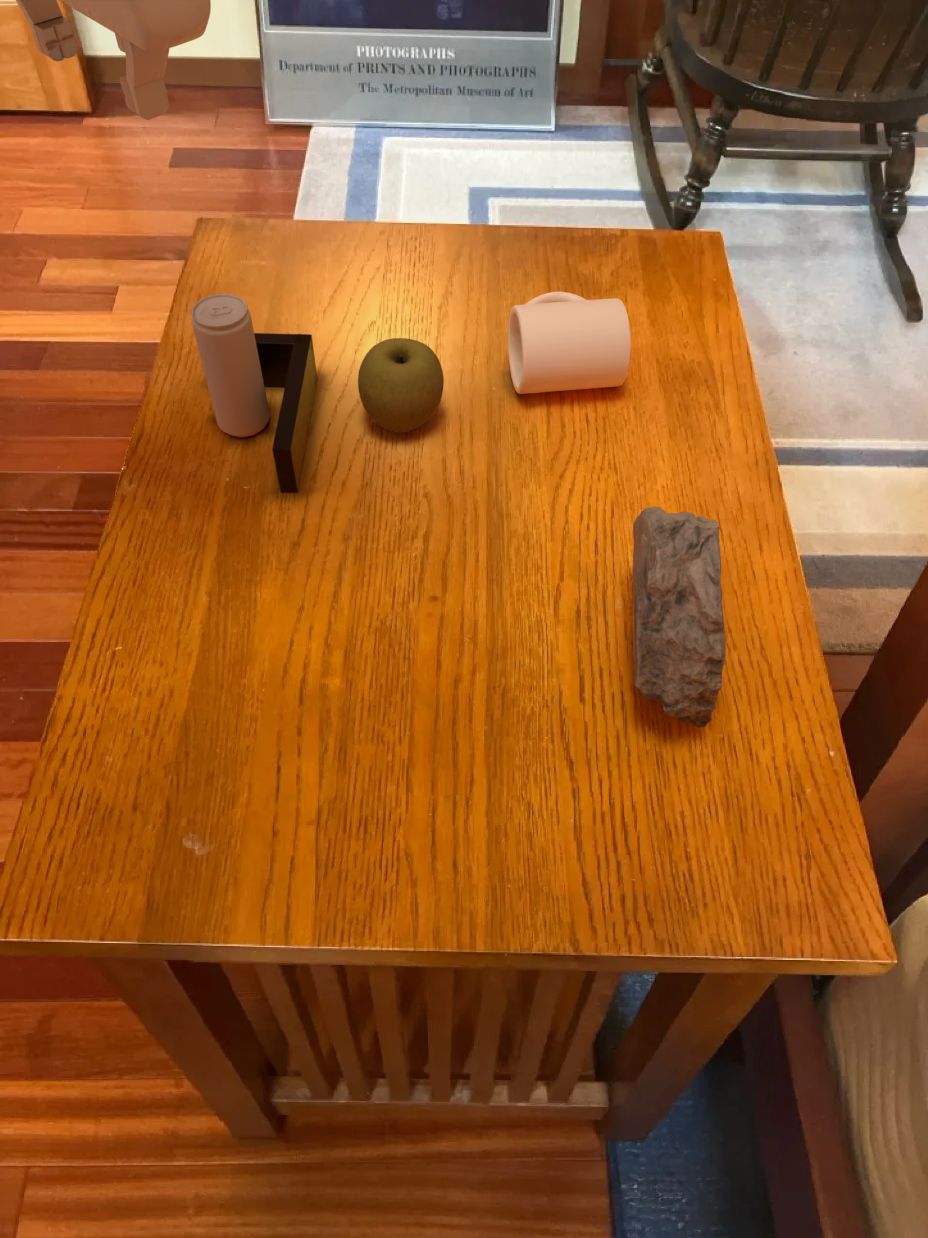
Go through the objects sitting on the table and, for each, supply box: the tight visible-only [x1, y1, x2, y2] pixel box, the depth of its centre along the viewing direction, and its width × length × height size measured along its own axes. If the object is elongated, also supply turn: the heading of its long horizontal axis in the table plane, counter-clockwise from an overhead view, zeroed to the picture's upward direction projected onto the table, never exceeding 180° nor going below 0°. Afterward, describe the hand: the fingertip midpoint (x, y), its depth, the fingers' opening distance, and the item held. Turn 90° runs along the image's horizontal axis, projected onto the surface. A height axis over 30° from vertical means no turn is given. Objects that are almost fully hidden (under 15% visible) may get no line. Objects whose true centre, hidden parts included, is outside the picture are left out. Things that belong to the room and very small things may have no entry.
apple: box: [357, 337, 445, 433], centre depth 84 cm, size 8×8×7 cm
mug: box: [507, 291, 632, 395], centre depth 88 cm, size 12×10×8 cm
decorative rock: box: [632, 505, 727, 729], centre depth 65 cm, size 16×7×15 cm, turn 173°
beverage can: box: [190, 293, 271, 438], centre depth 81 cm, size 5×5×12 cm
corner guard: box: [254, 332, 318, 493], centre depth 83 cm, size 10×16×5 cm, turn 179°
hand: (103, 82), depth 52 cm, fingers open, 8 cm apart
